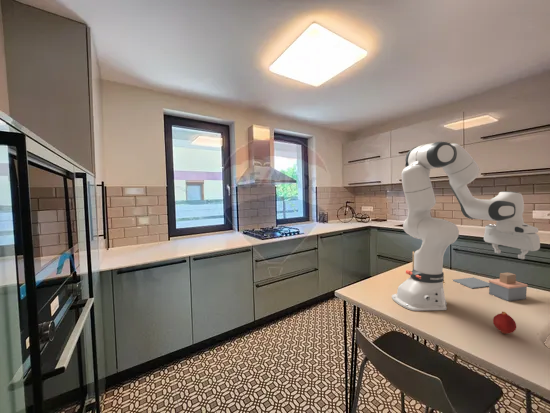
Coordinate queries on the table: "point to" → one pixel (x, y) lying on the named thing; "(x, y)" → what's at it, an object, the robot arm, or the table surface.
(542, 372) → the table surface
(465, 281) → the mat
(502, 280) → the lid
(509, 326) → the onion
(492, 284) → the storage box
